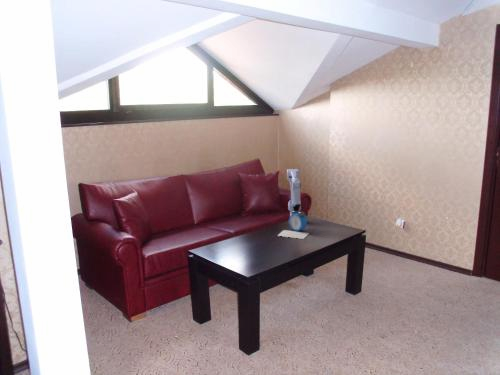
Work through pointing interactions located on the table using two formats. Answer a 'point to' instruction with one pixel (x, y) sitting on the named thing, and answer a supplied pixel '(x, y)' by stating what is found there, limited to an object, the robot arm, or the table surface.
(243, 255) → the table surface
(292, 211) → the robot arm
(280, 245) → the table surface
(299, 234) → the mat
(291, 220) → the alarm clock
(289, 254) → the table surface
